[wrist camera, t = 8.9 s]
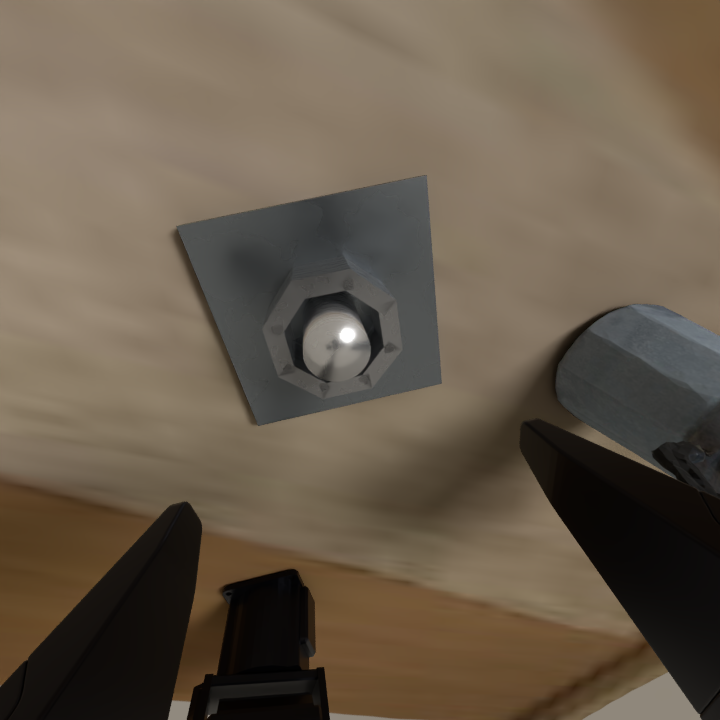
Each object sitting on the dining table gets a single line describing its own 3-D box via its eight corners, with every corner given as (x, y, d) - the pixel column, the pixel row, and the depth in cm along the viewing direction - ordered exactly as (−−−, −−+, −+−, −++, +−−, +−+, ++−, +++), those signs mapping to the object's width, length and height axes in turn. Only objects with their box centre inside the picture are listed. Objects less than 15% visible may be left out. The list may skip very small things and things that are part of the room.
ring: (290, 377, 20) (288, 406, 18) (257, 273, 17) (248, 289, 15) (393, 355, 21) (406, 380, 18) (378, 248, 18) (391, 260, 15)
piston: (259, 419, 22) (247, 479, 18) (180, 224, 16) (134, 240, 12) (438, 378, 22) (470, 426, 18) (422, 175, 17) (464, 172, 12)
